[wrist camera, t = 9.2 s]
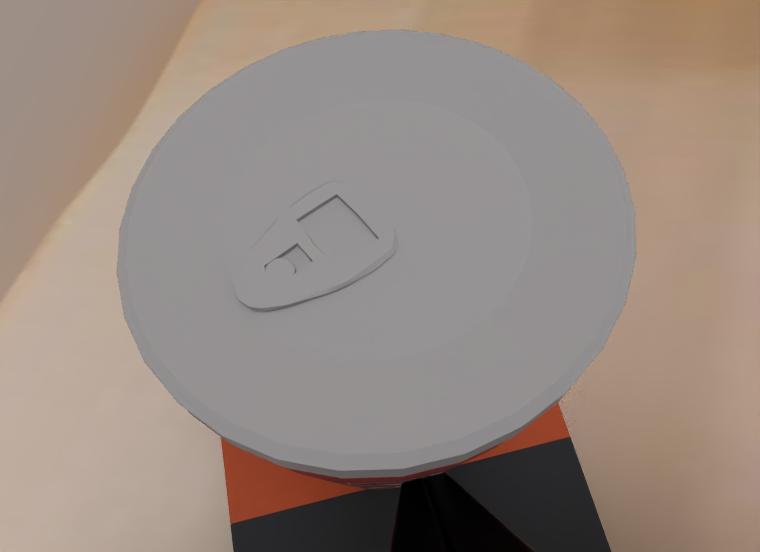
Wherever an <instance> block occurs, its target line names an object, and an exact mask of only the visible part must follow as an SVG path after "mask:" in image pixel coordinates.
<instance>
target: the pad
mask: <svg viewBox="0 0 760 552" xmlns="http://www.w3.org/2000/svg"><path fill="white" fill-rule="evenodd" d="M567 437H570V435H569V432H568V430H567V427H566V424H565V421H564V418H563V416H562V413H561V410H560V407H559V404H558V403H557V404H555V405H554V406H553V407H551V408H550V409H549V410H548V411H546V412H545V413H544V414H542V415H541V416H540V417H539V418H537V419H536V420H535V421H533V422H532V423H531V424H530V425H528V426H527V427H526V428H524V429H523V430H522V431H521V432H519V433H518V434H517V435H515V436H514V437H512V438H510V439H508V440H506V441H504V442H503V443H501V444H500V445H499V446H497V447H495V448H493V449H491V450H489V451H487V452H485V453H483V454H481V455H479V456H477V457H475V458H473V459H471V460H469V461H466V462H464V463H462V464H466V463H470V462H474V461H478V460H482V459H486V458H489V457H493V456H497V455H501V454H505V453H509V452H513V451H517V450H521V449H524V448H528V447H532V446H536V445H540V444H544V443H548V442H552V441H556V440H560V439H563V438H567ZM221 441H222V450H223V459H224V468H225V477H226V486H227V496H228V505H229V514H230V523H231V524H233V523H237V522H241V521H244V520H248V519H252V518H256V517H260V516H264V515H268V514H272V513H276V512H279V511H283V510H287V509H291V508H295V507H299V506H303V505H307V504H311V503H314V502H318V501H322V500H326V499H330V498H334V497H338V496H342V495H346V494H349V493H353V492H357V491H361V490H365V489H364V488H359V487H353V486H348V485H343V484H339V483H335V482H331V481H327V480H323V479H319V478H314V477H310V476H306V475H302V474H298V473H296V472H293V471H291V470H289V469H287V468H284V467H281V466H279V465H277V464H274V463H272V462H270V461H267V460H265V459H263V458H261V457H258V456H256V455H254V454H251V453H249V452H247V451H244V450H242V449H240V448H237V447H235V446H233V445H231V444H230V443H229V442H227V441H226V440H225V439H223V438H222V437H221ZM462 464H460V465H462Z"/></svg>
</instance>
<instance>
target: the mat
mask: <svg viewBox="0 0 760 552" xmlns="http://www.w3.org/2000/svg"><path fill="white" fill-rule="evenodd" d="M445 472H446V473H447V474H448V475H449V476H451V477H452V478H453V479H454V480H455V481H456V482H457V483H459V484H460V485H461V486H462V487H463V488H464V489H465V490H467V491H468V492H469V493H470V494H471V495H472V496H473V497H475V498H476V499H477V500H478V501H479V502H480V503H481V504H483V505H484V506H485V507H486V508H487V509H488V510H489V511H491V512H492V513H493V514H494V515H495V516H496V517H497V518H499V519H500V520H501V521H502V522H503V523H504V524H505V525H507V526H508V527H509V528H510V529H511V530H512V531H513V532H515V533H516V534H517V535H518V536H519V537H520V538H521V539H523V540H524V541H525V542H526V543H527V544H528V545H529V546H531V547H532V548H533V549H534V550H535V551H536V552H611V550H610V547H609V544H608V541H607V539H606V536H605V533H604V530H603V527H602V525H601V522H600V519H599V516H598V513H597V511H596V508H595V505H594V502H593V499H592V497H591V494H590V491H589V488H588V485H587V483H586V480H585V477H584V474H583V471H582V469H581V466H580V463H579V460H578V457H577V455H576V452H575V449H574V446H573V443H572V441H571V438H570V437H567V438H563V439H560V440H556V441H552V442H548V443H544V444H540V445H536V446H532V447H528V448H524V449H521V450H517V451H513V452H509V453H505V454H501V455H497V456H493V457H489V458H486V459H482V460H478V461H474V462H470V463H466V464H462V465H458V466H456V467H454V468H452V469H450V470H447V471H445ZM400 489H401V487H399V488H395V489H365V490H361V491H357V492H353V493H349V494H346V495H342V496H338V497H334V498H330V499H326V500H322V501H318V502H314V503H311V504H307V505H303V506H299V507H295V508H291V509H287V510H283V511H279V512H276V513H272V514H268V515H264V516H260V517H256V518H252V519H248V520H244V521H241V522H237V523H233V524H231V532H232V541H233V550H234V552H389V549H390V544H391V538H392V533H393V527H394V522H395V517H396V511H397V506H398V500H399V495H400Z"/></svg>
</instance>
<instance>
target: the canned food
mask: <svg viewBox="0 0 760 552" xmlns="http://www.w3.org/2000/svg"><path fill="white" fill-rule="evenodd" d="M635 259H636V224H635V210H634V206H633V202H632V198H631V194H630V190H629V186H628V182H627V178H626V174H625V171H624V169H623V167H622V165H621V163H620V161H619V159H618V157H617V155H616V153H615V151H614V149H613V147H612V145H611V144H610V142H609V140H608V138H607V136H606V134H605V133H604V132H603V131H602V129H601V128H600V127H599V126H598V124H597V123H596V122H595V121H594V119H593V118H592V117H591V116H590V114H589V113H588V112H587V111H586V109H585V108H584V107H583V106H582V104H581V103H579V102H578V101H577V100H576V99H575V98H574V97H572V96H571V95H570V94H569V93H568V92H567V91H565V90H564V89H563V88H562V87H561V86H560V85H558V84H557V83H556V82H555V81H554V80H553V79H551V78H550V77H548V76H546V75H545V74H543V73H542V72H540V71H538V70H537V69H535V68H533V67H532V66H530V65H528V64H527V63H525V62H523V61H522V60H520V59H518V58H516V57H514V56H511V55H509V54H506V53H504V52H501V51H499V50H496V49H494V48H491V47H489V46H486V45H484V44H481V43H478V42H474V41H469V40H465V39H461V38H457V37H453V36H449V35H445V34H439V33H429V32H419V31H409V30H380V31H359V32H353V33H347V34H341V35H335V36H329V37H323V38H319V39H316V40H313V41H309V42H306V43H303V44H299V45H296V46H293V47H290V48H286V49H283V50H281V51H278V52H276V53H274V54H272V55H270V56H268V57H265V58H263V59H261V60H259V61H257V62H255V63H252V64H250V65H248V66H246V67H244V68H242V69H241V70H239V71H238V72H236V73H235V74H233V75H232V76H230V77H229V78H227V79H225V80H224V81H222V82H221V83H219V84H218V85H216V86H215V87H213V88H212V89H210V90H209V91H208V92H207V93H205V94H204V95H203V96H202V97H201V98H200V99H199V100H198V101H196V102H195V103H194V104H193V105H192V106H191V107H190V108H189V109H187V110H186V111H185V112H184V113H183V114H182V115H181V116H180V117H179V118H178V119H177V120H176V121H175V123H174V124H173V125H172V126H171V127H170V129H169V130H168V131H167V132H166V134H165V135H164V136H163V137H162V139H161V140H160V141H159V142H158V144H157V145H156V146H155V147H154V149H153V150H152V152H151V153H150V155H149V157H148V159H147V161H146V163H145V165H144V166H143V168H142V170H141V172H140V174H139V176H138V177H137V179H136V181H135V183H134V185H133V187H132V189H131V193H130V196H129V199H128V203H127V206H126V209H125V213H124V216H123V219H122V223H121V226H120V232H119V246H118V261H117V277H118V283H119V289H120V294H121V300H122V306H123V311H124V317H125V320H126V322H127V324H128V327H129V329H130V331H131V333H132V335H133V338H134V340H135V342H136V344H137V346H138V348H139V351H140V353H141V355H142V357H143V359H144V362H145V363H146V364H147V366H148V367H149V368H150V369H151V371H152V372H153V373H154V374H155V375H156V377H157V378H158V379H159V380H160V382H161V383H162V384H163V385H164V387H165V388H166V389H167V390H168V391H169V393H170V394H171V395H172V396H173V398H174V399H175V400H176V401H177V403H179V404H180V405H181V406H183V407H184V408H186V409H187V410H188V412H189V413H190V414H191V415H193V416H194V417H195V418H197V419H198V420H199V421H201V422H202V423H203V424H205V425H206V426H207V427H209V428H210V429H211V430H213V431H214V432H215V433H217V434H218V435H219V436H221V437H222V438H223V439H225V440H226V441H227V442H229V443H230V444H231V445H233V446H235V447H237V448H240V449H242V450H244V451H247V452H249V453H251V454H254V455H256V456H258V457H261V458H263V459H265V460H267V461H270V462H272V463H274V464H277V465H279V466H281V467H284V468H287V469H289V470H291V471H293V472H296V473H298V474H302V475H306V476H310V477H314V478H319V479H323V480H327V481H331V482H335V483H339V484H343V485H348V486H353V487H359V488H364V489H395V488H399V487H401V484H402V483H404V482H408V481H412V480H416V479H420V478H423V479H424V477H428V476H432V475H436V474H440V473H443V472H445V471H447V470H450V469H452V468H454V467H456V466H458V465H460V464H462V463H464V462H466V461H469V460H471V459H473V458H475V457H477V456H479V455H481V454H483V453H485V452H487V451H489V450H491V449H493V448H495V447H497V446H499V445H500V444H501V443H503V442H504V441H506V440H508V439H510V438H512V437H514V436H515V435H517V434H518V433H519V432H521V431H522V430H523V429H524V428H526V427H527V426H528V425H530V424H531V423H532V422H533V421H535V420H536V419H537V418H539V417H540V416H541V415H542V414H544V413H545V412H546V411H548V410H549V409H550V408H551V407H553V406H554V405H555V404H557V403H558V402H559V400H560V399H561V398H562V397H563V395H564V394H565V393H566V392H567V391H568V390H569V389H570V388H571V387H572V385H573V384H574V383H575V382H576V381H577V379H578V378H579V377H580V376H581V375H582V373H583V372H584V371H585V370H586V369H587V367H588V366H589V365H590V364H591V362H592V361H593V360H594V359H595V358H596V356H597V355H598V354H599V353H600V352H601V350H602V349H603V348H604V346H605V344H606V342H607V340H608V338H609V335H610V333H611V331H612V329H613V327H614V325H615V323H616V321H617V319H618V317H619V315H620V313H621V311H622V309H623V307H624V305H625V303H626V299H627V295H628V290H629V286H630V281H631V277H632V273H633V268H634V264H635Z"/></svg>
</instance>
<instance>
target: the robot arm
mask: <svg viewBox="0 0 760 552" xmlns="http://www.w3.org/2000/svg"><path fill="white" fill-rule="evenodd" d="M389 552H536V551H535V550H534V549H533V548H532V547H531V546H529V545H528V544H527V543H526V542H525V541H524V540H523V539H521V538H520V537H519V536H518V535H517V534H516V533H515V532H513V531H512V530H511V529H510V528H509V527H508V526H507V525H505V524H504V523H503V522H502V521H501V520H500V519H499V518H497V517H496V516H495V515H494V514H493V513H492V512H491V511H489V510H488V509H487V508H486V507H485V506H484V505H483V504H481V503H480V502H479V501H478V500H477V499H476V498H475V497H473V496H472V495H471V494H470V493H469V492H468V491H467V490H465V489H464V488H463V487H462V486H461V485H460V484H459V483H457V482H456V481H455V480H454V479H453V478H452V477H451V476H449V475H448V474H447V473H446V472H443V473H440V474H436V475H432V476H428V477H424V479H423V478H420V479H416V480H412V481H408V482H404V483H402V484H401V489H400V495H399V500H398V506H397V511H396V517H395V522H394V527H393V533H392V538H391V544H390V549H389Z"/></svg>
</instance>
